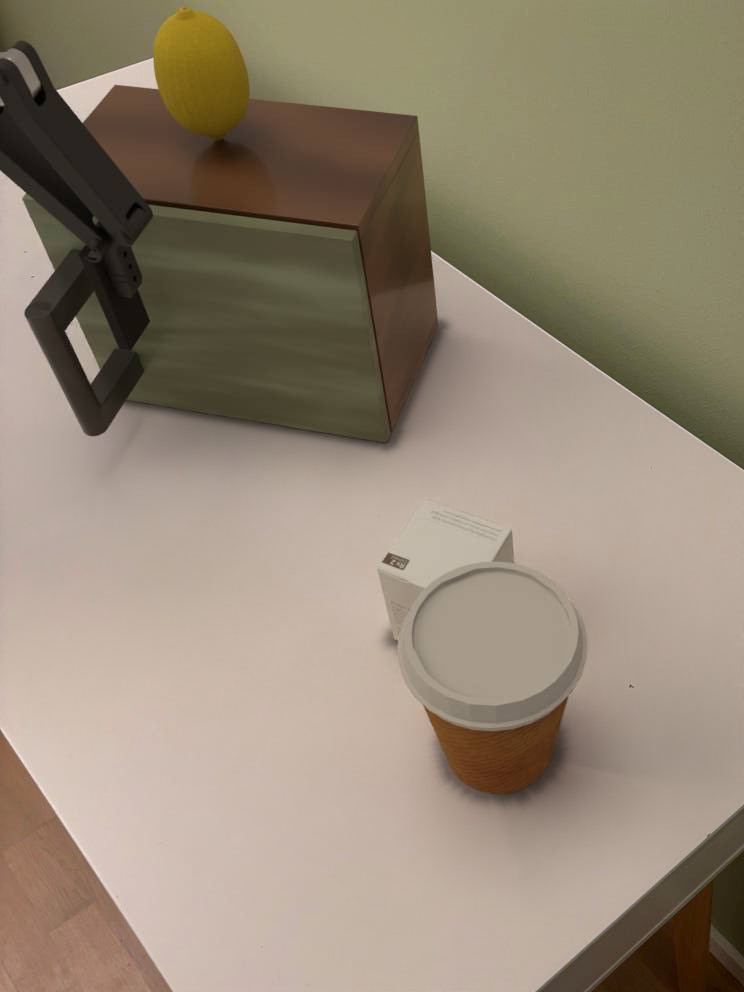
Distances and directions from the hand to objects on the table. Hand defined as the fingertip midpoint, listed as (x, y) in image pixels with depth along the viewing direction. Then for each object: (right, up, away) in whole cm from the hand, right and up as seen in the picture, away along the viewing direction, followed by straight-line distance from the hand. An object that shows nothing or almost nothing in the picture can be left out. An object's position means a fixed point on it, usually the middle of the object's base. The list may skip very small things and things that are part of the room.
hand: (35, 321), depth 63 cm
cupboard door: (+9, -6, +12) cm, 16 cm away
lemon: (+10, +13, +4) cm, 17 cm away
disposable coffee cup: (+28, -26, -3) cm, 39 cm away
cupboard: (+12, +3, +17) cm, 21 cm away
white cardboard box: (+26, -18, +2) cm, 32 cm away
